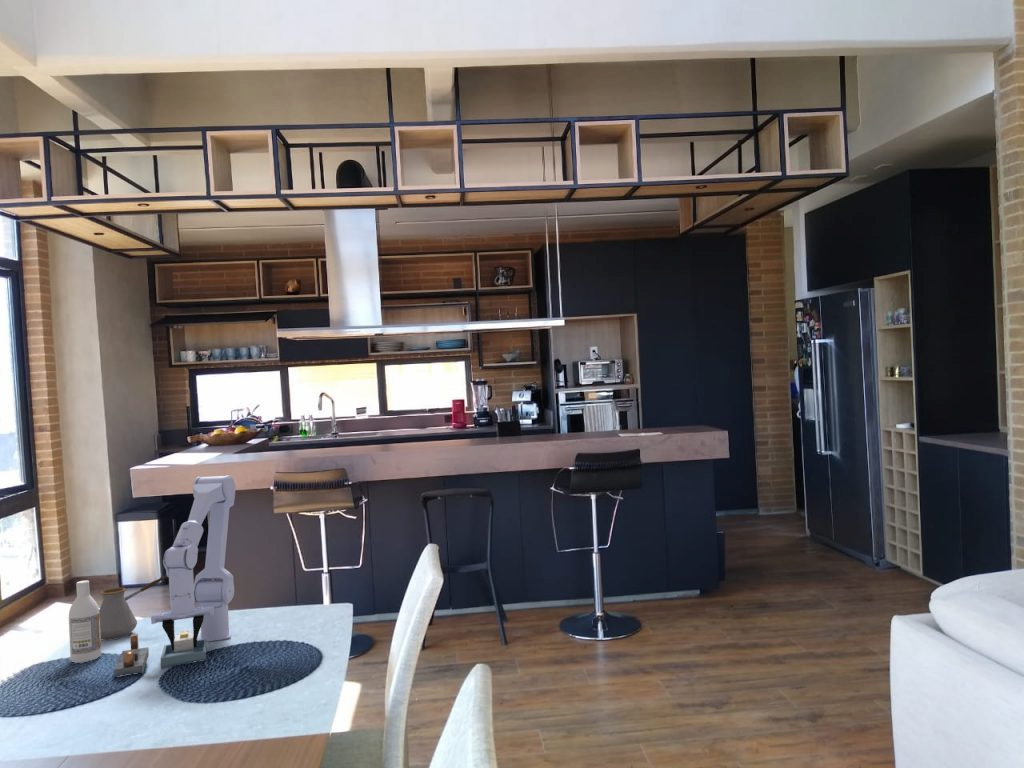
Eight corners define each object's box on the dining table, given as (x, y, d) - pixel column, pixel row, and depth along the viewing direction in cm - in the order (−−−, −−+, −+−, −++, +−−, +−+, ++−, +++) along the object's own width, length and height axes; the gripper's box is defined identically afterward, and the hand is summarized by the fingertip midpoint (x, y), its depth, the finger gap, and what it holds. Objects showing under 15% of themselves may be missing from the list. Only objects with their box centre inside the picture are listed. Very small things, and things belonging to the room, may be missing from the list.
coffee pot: (94, 645, 209) (92, 590, 210) (89, 635, 219) (87, 583, 219) (178, 628, 222) (175, 576, 222) (170, 620, 231) (167, 570, 231)
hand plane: (122, 658, 196) (121, 635, 196) (148, 654, 198) (147, 631, 198) (114, 678, 182) (113, 652, 182) (142, 673, 184) (141, 648, 184)
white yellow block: (175, 646, 197) (175, 632, 197) (194, 643, 198) (193, 629, 198) (174, 653, 191) (173, 638, 191) (193, 650, 192) (192, 635, 193)
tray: (164, 654, 198) (164, 645, 198) (207, 648, 201) (206, 639, 202) (161, 668, 187) (160, 658, 187) (205, 661, 191) (205, 651, 191)
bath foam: (104, 659, 197) (100, 581, 197) (73, 666, 192) (70, 586, 193) (98, 653, 202) (95, 577, 203) (68, 659, 198) (65, 582, 198)
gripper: (149, 601, 188) (151, 657, 188) (212, 593, 193) (214, 647, 193) (151, 595, 195) (154, 648, 195) (212, 587, 200) (215, 639, 200)
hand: (184, 647), depth 194 cm, fingers closed on white yellow block, 4 cm apart
